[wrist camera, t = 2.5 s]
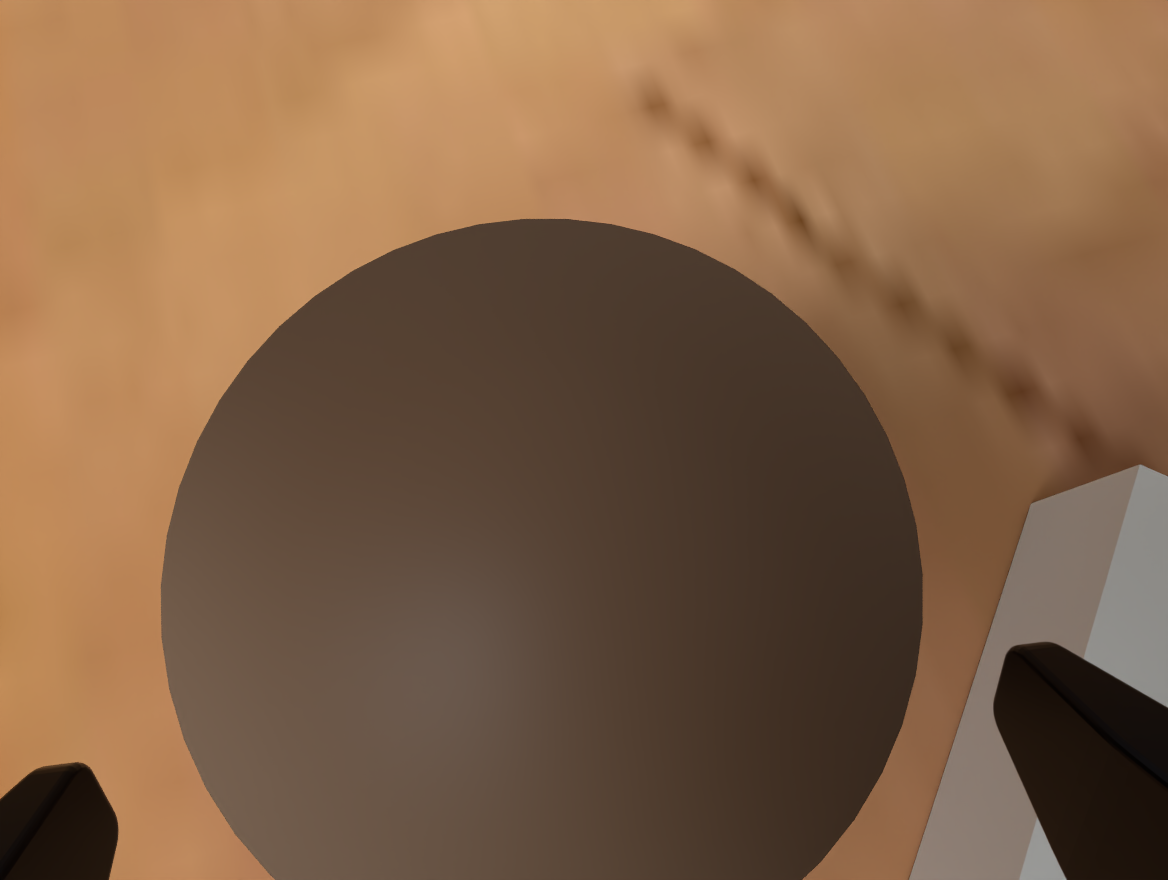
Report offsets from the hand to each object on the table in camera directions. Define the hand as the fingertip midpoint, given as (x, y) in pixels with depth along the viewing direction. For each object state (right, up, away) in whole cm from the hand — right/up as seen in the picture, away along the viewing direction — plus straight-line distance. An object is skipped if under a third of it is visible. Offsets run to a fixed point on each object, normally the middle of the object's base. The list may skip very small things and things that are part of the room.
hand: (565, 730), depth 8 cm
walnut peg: (0, -1, +9) cm, 9 cm away
